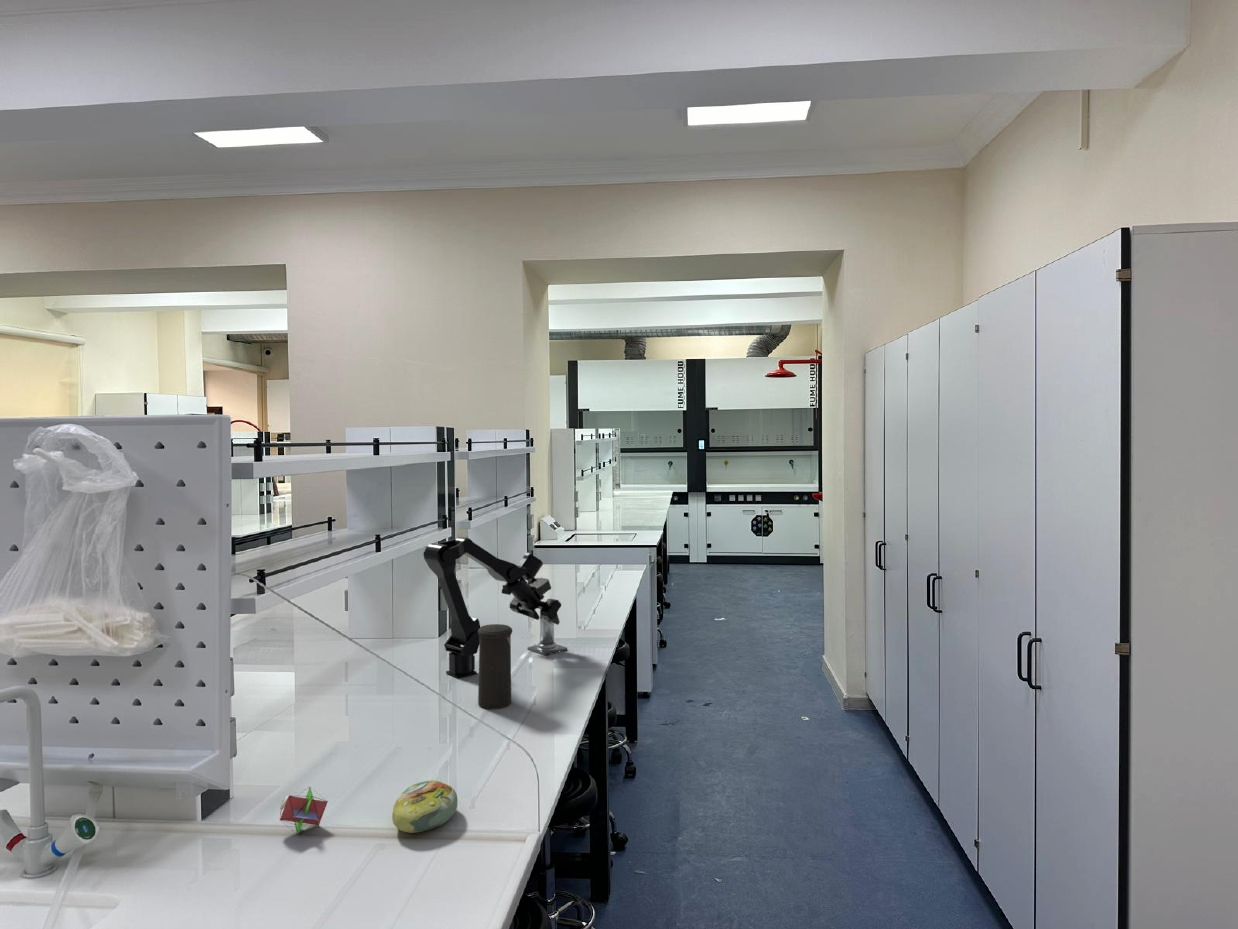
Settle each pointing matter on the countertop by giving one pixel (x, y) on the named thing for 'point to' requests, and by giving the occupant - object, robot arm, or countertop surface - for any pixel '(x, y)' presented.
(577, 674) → the countertop surface
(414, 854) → the countertop surface
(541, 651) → the base plate
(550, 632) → the sleeve
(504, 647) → the container
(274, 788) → the countertop surface
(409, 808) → the cell model
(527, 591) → the robot arm
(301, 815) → the geometric puzzle
